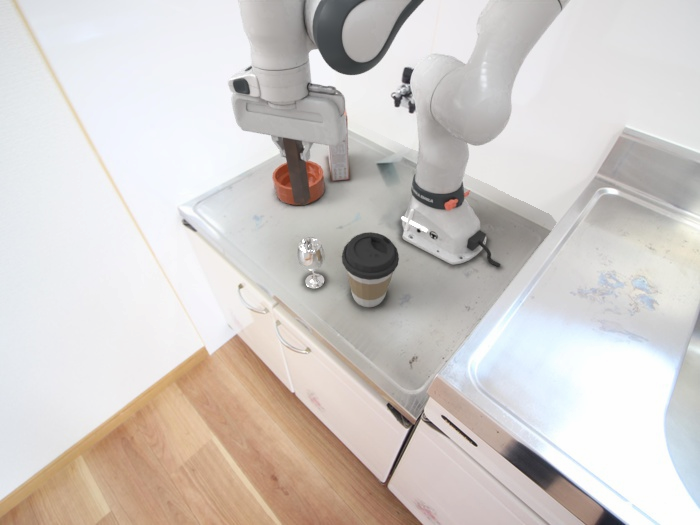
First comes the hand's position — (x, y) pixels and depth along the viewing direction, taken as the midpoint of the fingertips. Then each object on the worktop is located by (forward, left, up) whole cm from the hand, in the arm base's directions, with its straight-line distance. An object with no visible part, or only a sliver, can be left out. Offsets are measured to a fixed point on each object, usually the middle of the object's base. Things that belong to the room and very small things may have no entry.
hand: (295, 157), depth 65 cm
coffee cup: (-18, -3, -28) cm, 33 cm away
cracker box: (+26, -29, -28) cm, 48 cm away
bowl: (+24, -13, -28) cm, 39 cm away
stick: (0, 0, -10) cm, 10 cm away
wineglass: (-7, +4, -28) cm, 29 cm away
